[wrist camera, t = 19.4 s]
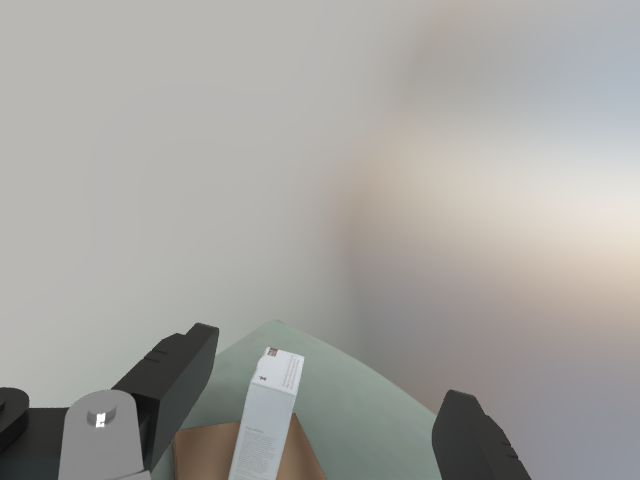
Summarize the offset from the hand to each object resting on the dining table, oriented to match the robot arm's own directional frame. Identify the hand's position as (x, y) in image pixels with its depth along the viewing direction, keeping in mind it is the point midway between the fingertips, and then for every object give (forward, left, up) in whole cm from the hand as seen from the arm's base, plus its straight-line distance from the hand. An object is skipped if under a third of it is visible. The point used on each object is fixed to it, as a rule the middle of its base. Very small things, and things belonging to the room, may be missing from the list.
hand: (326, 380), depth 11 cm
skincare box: (-7, -15, -24) cm, 29 cm away
